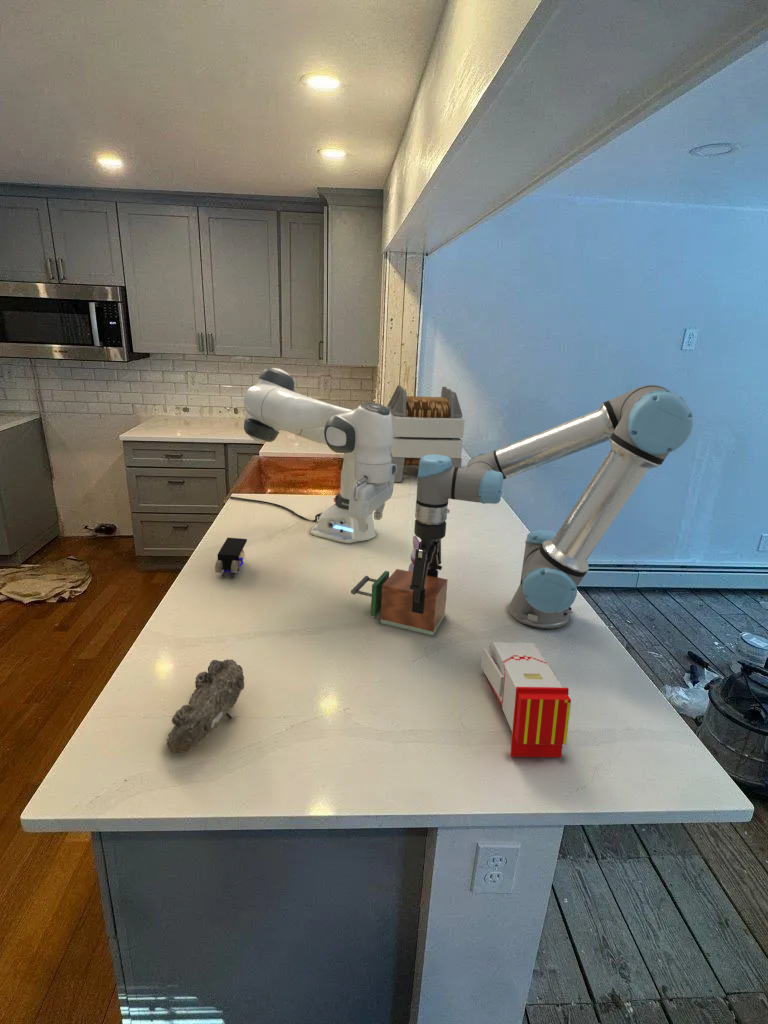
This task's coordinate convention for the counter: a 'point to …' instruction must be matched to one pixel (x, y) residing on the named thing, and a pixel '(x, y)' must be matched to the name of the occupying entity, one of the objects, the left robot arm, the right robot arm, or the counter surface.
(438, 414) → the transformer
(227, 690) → the fossil
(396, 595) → the cabinet
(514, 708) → the toy
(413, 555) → the figurine
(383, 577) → the drawer
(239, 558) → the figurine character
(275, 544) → the counter surface
